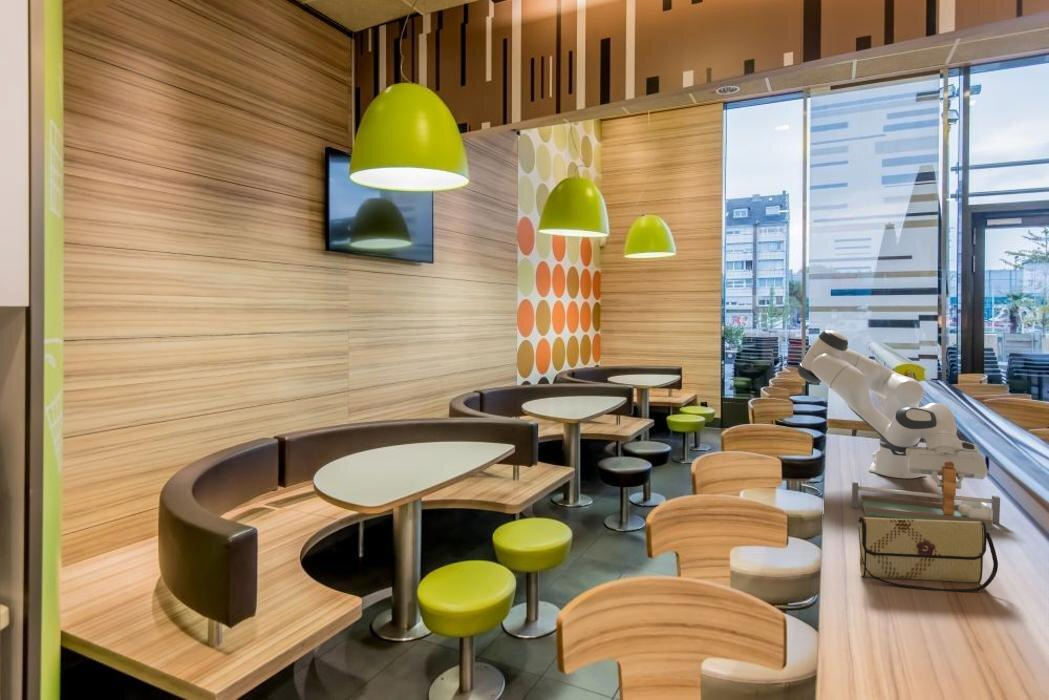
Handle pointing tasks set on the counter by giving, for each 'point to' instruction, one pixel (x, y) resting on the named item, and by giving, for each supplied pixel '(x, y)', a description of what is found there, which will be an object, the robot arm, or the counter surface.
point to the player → (948, 487)
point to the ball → (964, 510)
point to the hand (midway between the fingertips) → (949, 487)
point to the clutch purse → (924, 550)
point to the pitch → (925, 506)
